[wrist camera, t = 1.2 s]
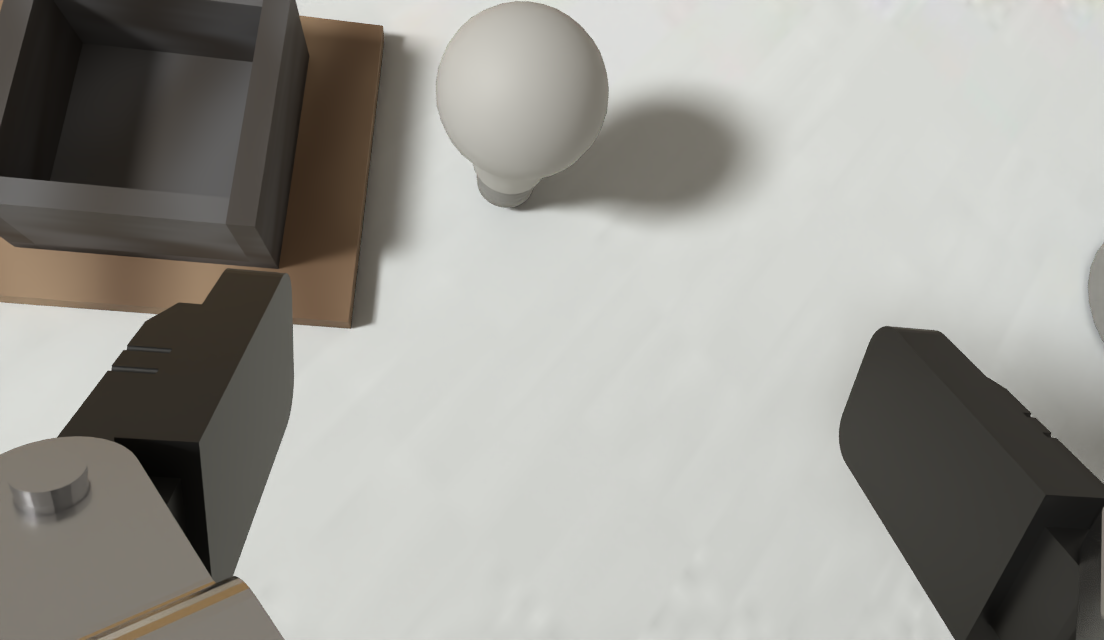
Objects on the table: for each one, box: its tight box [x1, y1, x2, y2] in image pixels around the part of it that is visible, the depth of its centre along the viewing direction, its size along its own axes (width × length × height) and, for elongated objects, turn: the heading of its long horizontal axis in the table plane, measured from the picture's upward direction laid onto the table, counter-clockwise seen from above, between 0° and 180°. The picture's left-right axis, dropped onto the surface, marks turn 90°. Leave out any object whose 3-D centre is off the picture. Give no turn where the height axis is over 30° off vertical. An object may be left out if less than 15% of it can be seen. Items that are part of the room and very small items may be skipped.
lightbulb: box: [436, 1, 609, 208], centre depth 31 cm, size 6×6×11 cm
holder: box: [0, 0, 384, 329], centre depth 32 cm, size 16×14×6 cm
